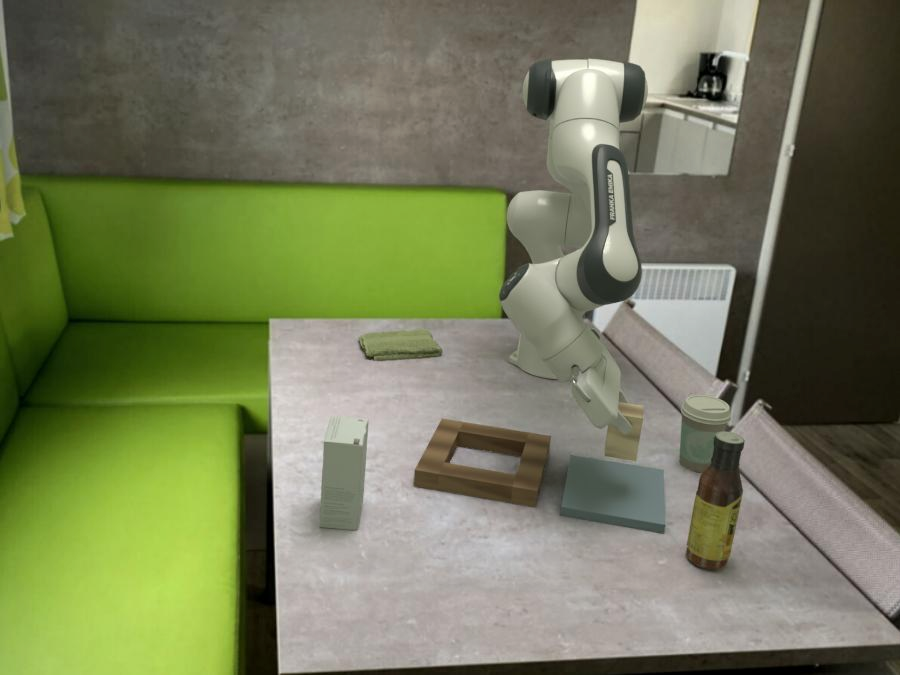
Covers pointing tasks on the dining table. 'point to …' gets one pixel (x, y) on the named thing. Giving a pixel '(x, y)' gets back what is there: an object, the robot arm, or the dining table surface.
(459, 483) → the pocket block
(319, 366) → the dining table surface
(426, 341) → the washcloth
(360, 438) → the skincare box
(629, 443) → the maple peg
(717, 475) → the sauce bottle
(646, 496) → the slate pad
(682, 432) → the coffee cup
